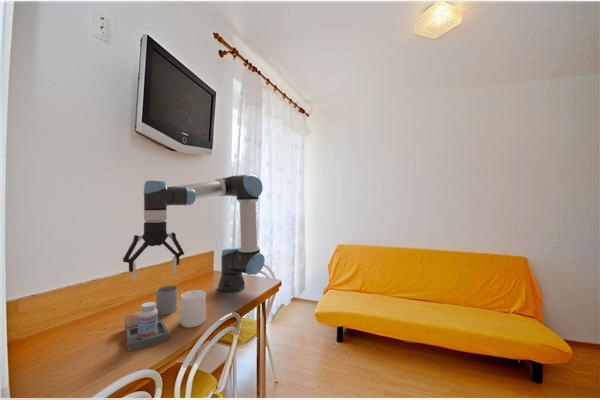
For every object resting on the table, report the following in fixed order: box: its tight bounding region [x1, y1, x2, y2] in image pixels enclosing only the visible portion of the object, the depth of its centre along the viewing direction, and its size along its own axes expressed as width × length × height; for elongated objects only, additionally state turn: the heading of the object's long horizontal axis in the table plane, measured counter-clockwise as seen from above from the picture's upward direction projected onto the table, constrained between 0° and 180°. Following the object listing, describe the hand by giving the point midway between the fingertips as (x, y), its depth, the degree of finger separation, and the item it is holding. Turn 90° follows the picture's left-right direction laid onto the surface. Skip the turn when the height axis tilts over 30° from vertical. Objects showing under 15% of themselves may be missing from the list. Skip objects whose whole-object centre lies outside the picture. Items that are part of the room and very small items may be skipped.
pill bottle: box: [138, 301, 159, 339], centre depth 92 cm, size 6×6×11 cm
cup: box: [155, 285, 179, 316], centre depth 115 cm, size 8×8×10 cm
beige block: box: [123, 311, 140, 330], centre depth 99 cm, size 7×6×6 cm
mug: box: [179, 289, 207, 329], centre depth 105 cm, size 10×12×12 cm
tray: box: [125, 320, 170, 352], centre depth 92 cm, size 12×12×2 cm
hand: (155, 276), depth 97 cm, fingers open, 13 cm apart
